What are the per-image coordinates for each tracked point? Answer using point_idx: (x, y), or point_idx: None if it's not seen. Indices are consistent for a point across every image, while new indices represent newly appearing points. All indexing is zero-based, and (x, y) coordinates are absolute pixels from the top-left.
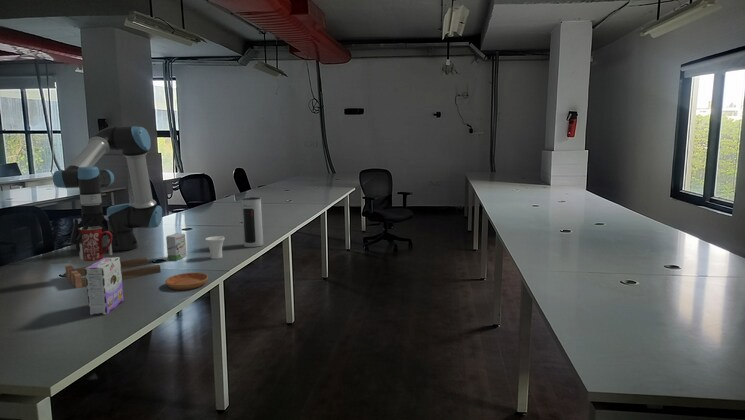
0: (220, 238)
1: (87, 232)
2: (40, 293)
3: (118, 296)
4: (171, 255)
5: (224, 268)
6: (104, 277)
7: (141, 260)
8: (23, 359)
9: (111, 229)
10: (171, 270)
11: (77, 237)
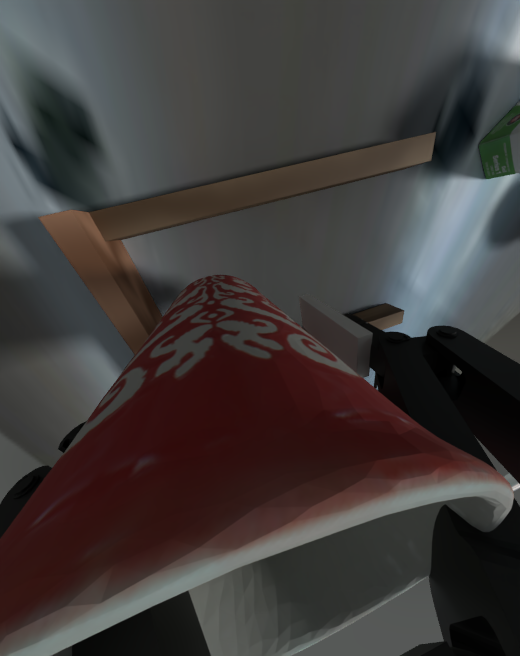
0: None
1: (225, 607)
2: (85, 401)
3: None
4: (510, 155)
5: (478, 338)
6: None
7: (401, 168)
8: None
9: (501, 418)
10: (409, 307)
11: None
